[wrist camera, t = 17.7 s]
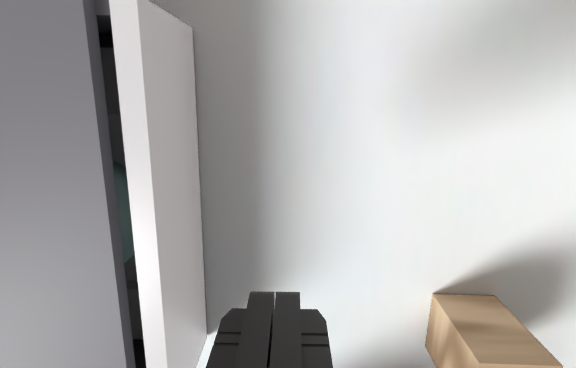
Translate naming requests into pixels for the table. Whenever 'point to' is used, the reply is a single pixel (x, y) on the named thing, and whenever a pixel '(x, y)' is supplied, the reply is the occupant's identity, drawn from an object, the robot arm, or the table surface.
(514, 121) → the table surface
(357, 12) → the table surface
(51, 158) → the box
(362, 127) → the table surface
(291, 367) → the robot arm
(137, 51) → the tray
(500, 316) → the wooden block
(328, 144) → the table surface
